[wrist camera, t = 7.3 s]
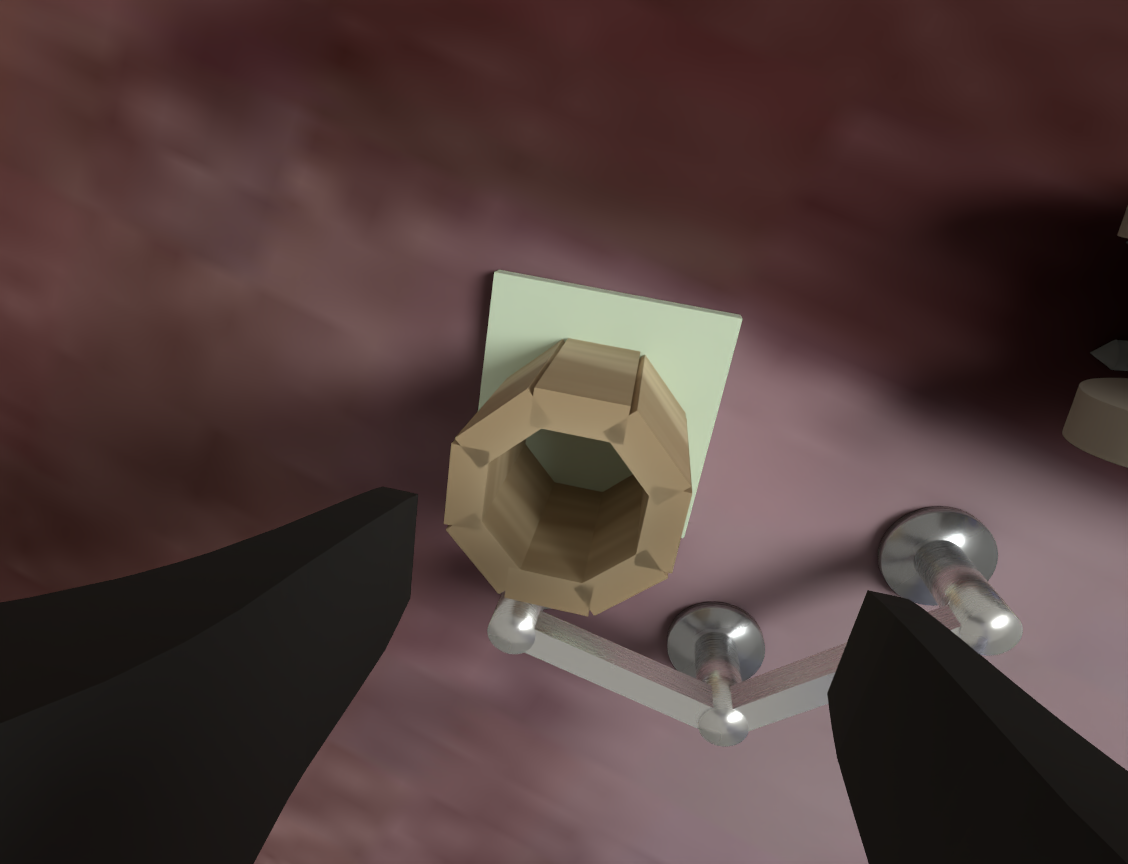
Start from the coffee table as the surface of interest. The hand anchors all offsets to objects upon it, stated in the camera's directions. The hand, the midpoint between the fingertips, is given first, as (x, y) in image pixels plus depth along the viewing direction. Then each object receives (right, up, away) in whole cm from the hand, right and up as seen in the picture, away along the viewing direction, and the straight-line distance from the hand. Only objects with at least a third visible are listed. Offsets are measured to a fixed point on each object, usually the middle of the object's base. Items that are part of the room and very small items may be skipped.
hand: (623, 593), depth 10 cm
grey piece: (+5, -2, +11) cm, 12 cm away
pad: (0, +3, +9) cm, 10 cm away
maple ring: (0, +3, +9) cm, 9 cm away
